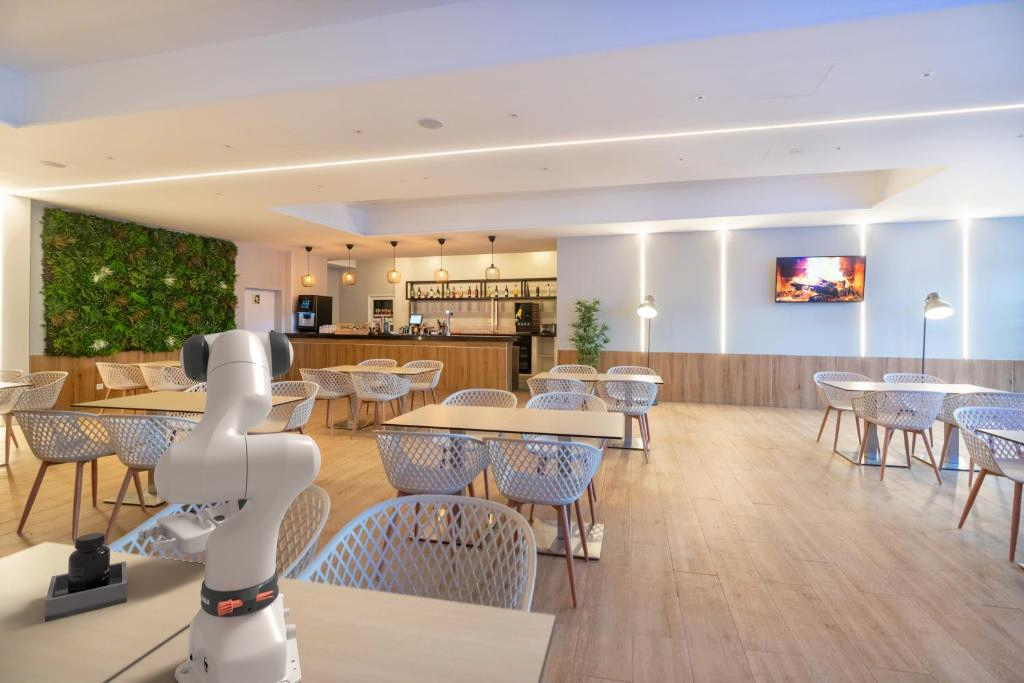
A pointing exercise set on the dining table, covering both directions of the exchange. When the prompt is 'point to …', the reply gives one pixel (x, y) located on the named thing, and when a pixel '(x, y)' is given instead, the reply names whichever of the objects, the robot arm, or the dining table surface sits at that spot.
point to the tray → (85, 594)
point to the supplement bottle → (89, 563)
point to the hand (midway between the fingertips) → (145, 541)
